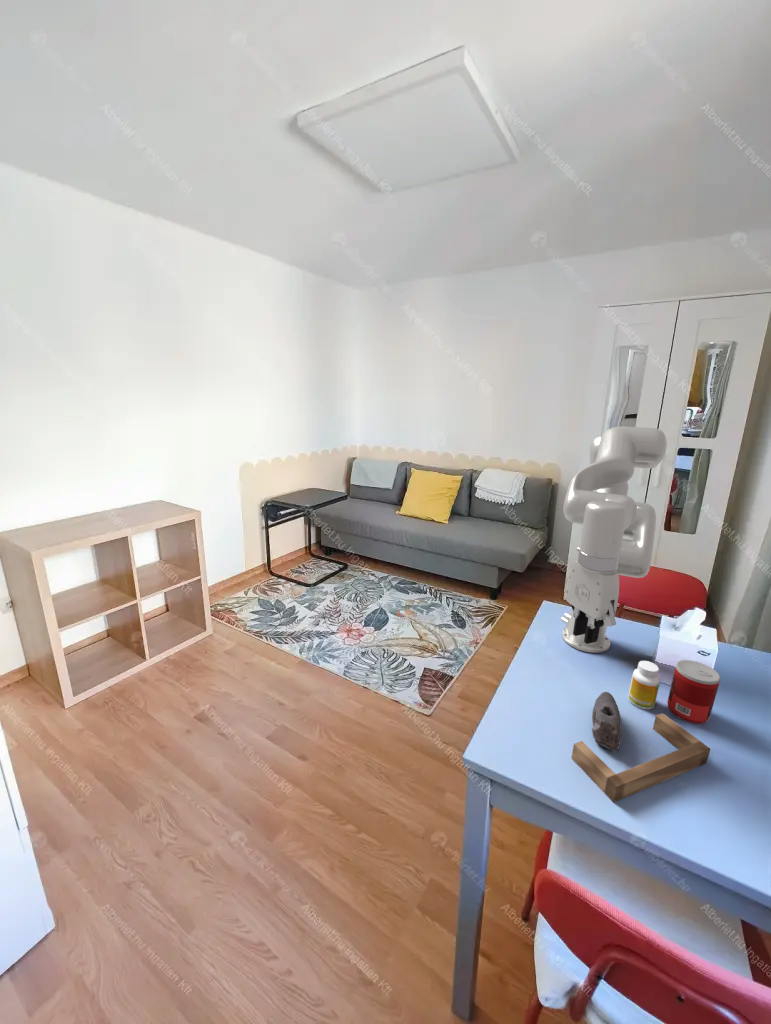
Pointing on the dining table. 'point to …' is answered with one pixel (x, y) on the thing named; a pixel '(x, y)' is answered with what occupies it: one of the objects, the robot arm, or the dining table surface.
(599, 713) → the perforated stone tool
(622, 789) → the bay
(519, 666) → the dining table surface
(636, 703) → the supplement bottle
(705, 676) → the canned food
